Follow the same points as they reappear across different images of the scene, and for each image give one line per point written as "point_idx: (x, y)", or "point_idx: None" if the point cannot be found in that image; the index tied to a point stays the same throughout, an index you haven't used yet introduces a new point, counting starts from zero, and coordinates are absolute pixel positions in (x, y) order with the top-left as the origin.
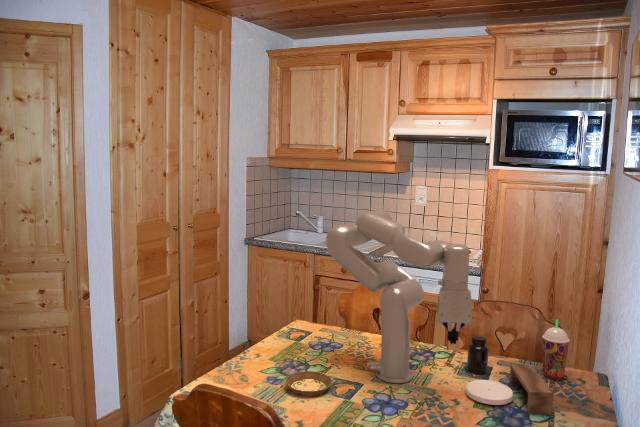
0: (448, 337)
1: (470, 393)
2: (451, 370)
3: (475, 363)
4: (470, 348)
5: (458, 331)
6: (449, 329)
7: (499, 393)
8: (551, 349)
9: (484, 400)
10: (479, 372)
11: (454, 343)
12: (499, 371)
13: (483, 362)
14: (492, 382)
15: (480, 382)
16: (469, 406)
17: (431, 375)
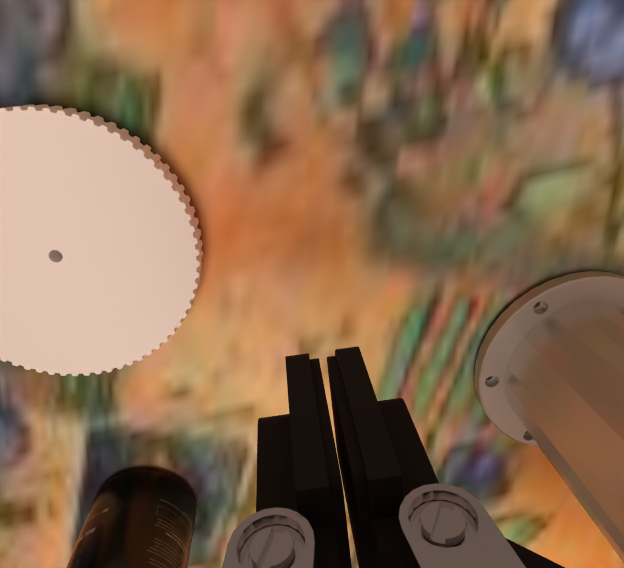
0: (409, 418)
1: (171, 180)
2: None
3: (143, 514)
4: None
5: (257, 514)
6: (453, 517)
7: None
8: None
9: (80, 113)
10: (130, 475)
11: (308, 354)
12: (34, 524)
13: (95, 527)
14: (42, 352)
15: (113, 336)
16: (181, 79)
17: None
